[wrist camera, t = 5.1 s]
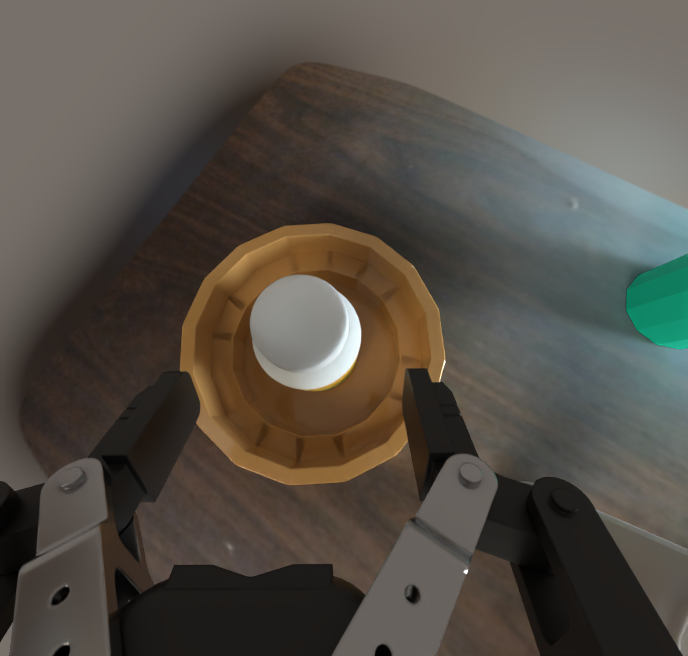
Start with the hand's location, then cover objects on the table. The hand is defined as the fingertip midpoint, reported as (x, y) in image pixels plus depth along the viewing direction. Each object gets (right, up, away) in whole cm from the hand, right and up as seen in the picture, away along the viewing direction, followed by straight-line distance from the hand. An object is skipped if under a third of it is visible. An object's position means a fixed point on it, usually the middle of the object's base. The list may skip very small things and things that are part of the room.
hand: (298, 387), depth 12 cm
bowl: (0, 0, +11) cm, 11 cm away
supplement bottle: (0, 0, +10) cm, 10 cm away
